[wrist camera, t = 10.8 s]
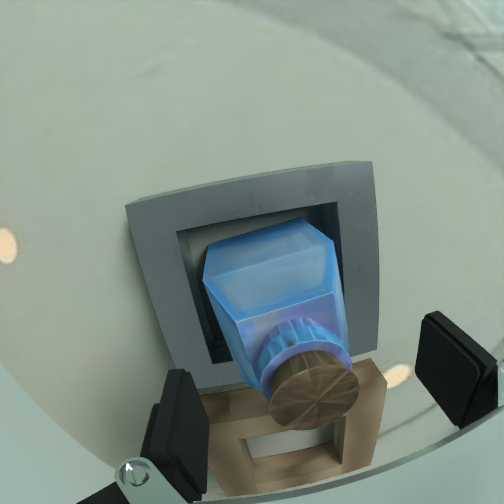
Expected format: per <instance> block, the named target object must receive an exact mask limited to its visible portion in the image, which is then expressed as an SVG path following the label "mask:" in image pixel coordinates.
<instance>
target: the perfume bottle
mask: <svg viewBox="0 0 504 504" xmlns="http://www.w3.org/2000/svg"><path fill="white" fill-rule="evenodd" d="M203 283H204V286H205V288H206V291H207V294H208V296H209V299H210V302H211V304H212V307H213V310H214V312H215V315H216V317H217V320H218V323H219V325H220V328H221V330H222V333H223V335H224V338H225V340H226V343H227V345H228V348H229V350H230V353H231V355H232V358H233V360H234V362H235V365H236V367H237V370H238V372H239V374H240V377H241V379H242V380H243V381H245V382H246V383H248V384H250V385H251V386H253V387H255V388H256V389H258V390H260V391H261V392H262V394H263V395H264V396H265V398H266V399H267V401H268V402H269V410H270V415H271V417H272V418H273V420H274V421H275V422H276V423H277V424H279V425H281V426H282V427H284V428H288V429H292V430H311V429H316V428H320V427H323V426H326V425H328V424H330V423H333V422H335V421H336V420H338V419H339V418H341V417H342V416H343V415H345V414H346V413H347V412H348V411H349V410H350V409H351V408H352V407H353V406H354V404H355V402H356V400H357V399H358V397H359V394H360V387H361V385H360V382H359V378H358V376H357V375H356V374H355V373H353V372H352V371H351V370H352V361H351V359H350V356H349V353H348V351H349V347H350V344H349V336H348V328H347V321H346V314H345V307H344V300H343V294H342V288H341V282H340V276H339V270H338V264H337V259H336V253H335V248H334V243H333V241H332V240H331V239H329V238H328V237H327V236H325V235H324V234H323V233H321V232H320V231H318V230H317V229H316V228H314V227H313V226H312V225H310V224H309V223H308V222H306V221H305V220H304V219H302V218H301V217H300V218H296V219H293V220H289V221H286V222H282V223H279V224H275V225H272V226H268V227H265V228H261V229H258V230H255V231H251V232H248V233H244V234H241V235H238V236H234V237H231V238H228V239H224V240H221V241H218V242H214V243H211V244H209V246H208V251H207V257H206V263H205V269H204V275H203Z"/></svg>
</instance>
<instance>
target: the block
mask: <svg viewBox="0 0 504 504" xmlns="http://www.w3.org/2000/svg"><path fill="white" fill-rule="evenodd" d="M318 204H322V211H323V219H324V228H325V236H327V237H328V238H329V239H331V240H332V241H333V243H334V248H335V253H336V259H337V264H338V270H339V276H340V282H341V288H342V294H343V300H344V307H345V314H346V321H347V328H348V336H349V344H350V347H349V351H348V353H349V356H350V357H353V356H356V355H360V354H363V353H366V352H369V351H373V350H376V349H377V341H378V321H379V243H378V223H377V208H376V196H375V185H374V176H373V167H372V162H369V161H347V162H338V163H329V164H321V165H314V166H306V167H299V168H292V169H286V170H279V171H273V172H267V173H261V174H255V175H249V176H243V177H238V178H232V179H227V180H222V181H217V182H212V183H207V184H202V185H197V186H192V187H188V188H183V189H179V190H174V191H170V192H165V193H161V194H157V195H153V196H149V197H144V198H140V199H138V200H136V201H133V202H131V203H129V204H127V205H125V208H126V212H127V217H128V221H129V225H130V229H131V233H132V236H133V240H134V244H135V248H136V251H137V255H138V258H139V262H140V265H141V269H142V272H143V276H144V279H145V282H146V285H147V289H148V292H149V295H150V298H151V301H152V304H153V307H154V310H155V313H156V316H157V319H158V322H159V325H160V327H161V330H162V333H163V336H164V338H165V341H166V344H167V347H168V349H169V352H170V354H171V357H172V360H173V362H174V365H175V367H176V369H182V368H183V369H185V371H186V372H190V373H191V375H192V378H193V381H194V383H195V386H196V388H197V389H200V388H207V387H215V386H221V385H228V384H234V383H240V382H245V381H243V380H242V379H241V377H240V374H239V372H238V370H237V367H236V365H235V362H234V360H233V358H232V355H231V353H230V350H229V348H228V345H227V343H226V340H225V338H221V339H215V340H213V337H212V333H211V330H210V326H209V323H208V319H207V315H206V312H205V308H204V304H203V301H202V297H201V293H200V289H199V285H198V281H197V277H196V274H195V270H194V266H193V261H192V257H191V253H190V249H189V245H188V241H187V236H186V232H185V229H189V228H193V227H198V226H203V225H208V224H213V223H218V222H223V221H229V220H234V219H239V218H244V217H250V216H255V215H261V214H266V213H272V212H277V211H283V210H288V209H294V208H300V207H306V206H312V205H318Z"/></svg>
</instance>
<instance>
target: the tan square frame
mask: <svg viewBox="0 0 504 504" xmlns="http://www.w3.org/2000/svg"><path fill="white" fill-rule="evenodd" d="M351 371H352V372H353V373H355V374H356V375H357V376H358V378H359V382H360V385H361V387H360V394H359V397H358V399H357V400H356V402H355V404H354V406H353V407H352V408H351V409H350V410H349V411H348V412H347V413H346V414H345V415H343V416H342V417H341V418H339V419H338V420H336V421H335V422H334V429H333V442H330V443H326V444H323V445H319V446H315V447H311V448H307V449H303V450H299V451H294V452H290V453H285V454H280V455H275V456H269V457H263V458H257V459H252V457H251V454H250V452H249V449H248V446H247V443H246V440H245V438H250V437H256V436H262V435H268V434H273V433H278V432H283V431H288V430H292V429H288V428H284V427H282V426H281V425H279V424H277V423H276V422H275V421H274V420H273V418H272V417H271V415H270V410H269V402H268V401H267V399H266V398H265V396H264V395H263V394H262V392H261V391H260V390H258V389H256V388H255V387H253V388H247V389H241V390H235V391H229V392H222V393H215V394H207V395H199V396H200V398H201V401H202V403H203V406H204V408H205V411H206V413H207V416H208V418H209V424H210V427H209V445H208V467H209V468H210V470H211V472H212V473H213V475H214V476H215V478H216V480H217V481H218V483H219V484H220V486H221V488H222V489H223V491H224V492H225V494H226V495H227V497H229V496H239V495H247V494H255V493H262V492H268V491H274V490H280V489H285V488H290V487H295V486H300V485H304V484H308V483H313V482H317V481H320V480H324V479H328V478H331V477H335V476H338V475H342V474H345V473H348V472H351V471H354V470H357V469H360V468H363V467H366V466H369V465H371V461H372V457H373V453H374V449H375V445H376V441H377V436H378V432H379V427H380V422H381V417H382V412H383V406H384V401H385V395H386V388H387V381H386V380H385V378H384V377H383V375H382V374H381V372H380V371H379V369H378V368H377V367H376V365H375V364H374V362H373V361H372V359H371V358H369V359H366V360H363V361H360V362H357V363H353V364H352V370H351Z"/></svg>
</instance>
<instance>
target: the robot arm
mask: <svg viewBox="0 0 504 504" xmlns="http://www.w3.org/2000/svg"><path fill="white" fill-rule="evenodd" d="M496 363H497V360H496V359H495V358H494V357H493V356H492V355H491V354H489V353H488V352H487V351H486V350H485V349H484V348H483V347H481V346H480V345H479V344H478V343H477V342H476V341H474V340H473V339H472V338H471V337H470V336H469V335H467V334H466V333H465V332H464V331H463V330H462V329H460V328H459V327H458V326H457V325H456V324H454V323H453V322H452V321H451V320H449V319H448V318H447V317H446V316H445V315H443V314H442V313H441V312H439V311H435V312H432V313H429V314H426V315H425V317H424V319H423V320H422V323H421V331H420V339H419V346H418V353H417V359H416V365H415V374H416V376H417V377H418V379H419V380H420V381H421V382H422V384H423V385H424V386H425V388H426V389H427V390H428V391H429V393H430V394H431V395H432V397H433V398H434V399H435V401H436V402H437V403H438V405H439V406H440V407H441V409H442V410H443V411H444V413H445V414H446V415H447V417H448V418H449V419H450V421H451V422H452V423H453V425H455V426H458V427H459V428H460V430H459V431H458V432H456V433H454V434H452V435H450V436H448V437H446V438H444V439H443V440H441V441H439V442H437V443H435V444H432V445H430V446H428V447H426V448H424V449H422V450H420V451H417V452H415V453H413V454H411V455H408V456H406V457H403V458H401V459H399V460H396V461H394V462H391V463H388V464H386V465H383V466H380V467H377V468H375V469H372V470H369V471H366V472H363V473H360V474H357V475H353V476H350V477H347V478H343V479H340V480H336V481H332V482H329V483H325V484H321V485H317V486H312V487H308V488H303V489H298V490H293V491H288V492H282V493H276V494H270V495H263V496H256V497H248V498H239V499H230V500H229V499H228V500H218V501H208V502H197V503H193V501H201V500H202V494H206V491H207V467H208V445H209V427H210V424H209V418H208V416H207V413H206V411H205V408H204V406H203V403H202V401H201V398H200V396H199V393H198V391H197V388H196V386H195V383H194V381H193V378H192V375H191V373H190V372H186V371H185V369H183V368H182V369H173V370H169V371H168V374H167V378H166V382H165V385H164V389H163V393H162V397H161V401H160V403H159V404H154V405H153V408H152V411H151V415H150V419H149V422H148V426H147V430H146V434H145V438H144V441H143V445H142V449H141V453H140V457H132V458H129V459H126V460H124V461H123V462H122V463H120V464H119V466H118V467H117V469H116V471H115V479H116V481H115V482H114V483H112V484H110V485H109V486H107V487H105V488H103V489H102V490H100V491H98V492H97V493H95V494H93V495H91V496H89V497H87V498H86V499H84V500H82V501H80V502H78V503H77V504H504V361H503V362H502V363H501V364H500V365H499V367H498V366H497V365H496Z"/></svg>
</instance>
